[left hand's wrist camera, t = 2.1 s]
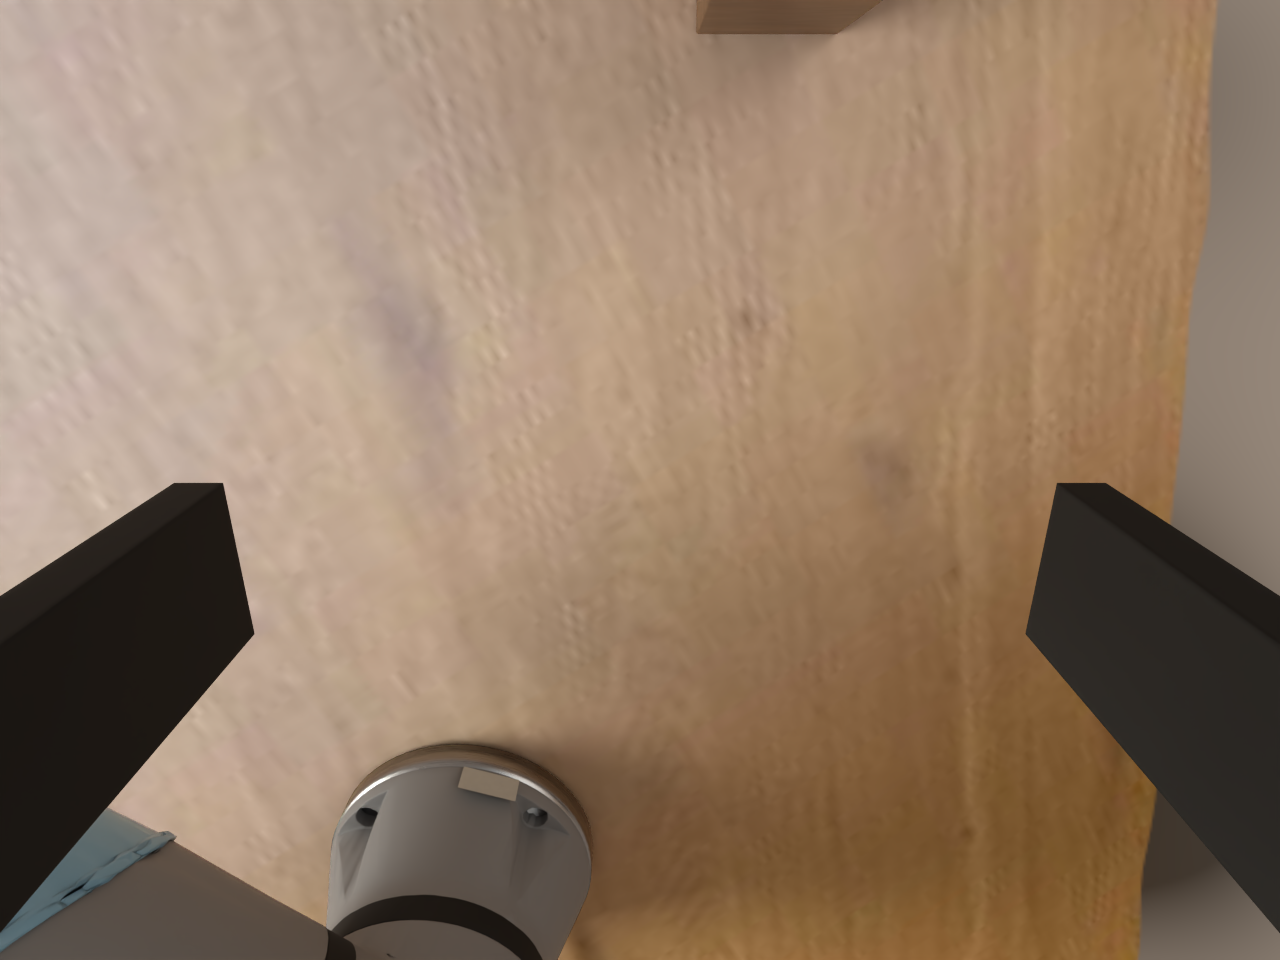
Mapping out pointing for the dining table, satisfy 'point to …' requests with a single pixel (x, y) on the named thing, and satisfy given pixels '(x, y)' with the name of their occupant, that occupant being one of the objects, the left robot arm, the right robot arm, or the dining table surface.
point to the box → (778, 16)
